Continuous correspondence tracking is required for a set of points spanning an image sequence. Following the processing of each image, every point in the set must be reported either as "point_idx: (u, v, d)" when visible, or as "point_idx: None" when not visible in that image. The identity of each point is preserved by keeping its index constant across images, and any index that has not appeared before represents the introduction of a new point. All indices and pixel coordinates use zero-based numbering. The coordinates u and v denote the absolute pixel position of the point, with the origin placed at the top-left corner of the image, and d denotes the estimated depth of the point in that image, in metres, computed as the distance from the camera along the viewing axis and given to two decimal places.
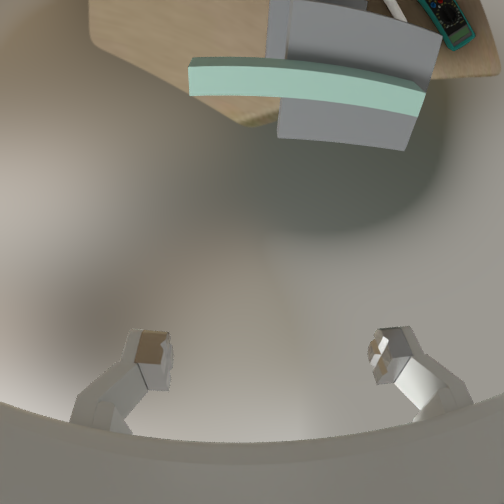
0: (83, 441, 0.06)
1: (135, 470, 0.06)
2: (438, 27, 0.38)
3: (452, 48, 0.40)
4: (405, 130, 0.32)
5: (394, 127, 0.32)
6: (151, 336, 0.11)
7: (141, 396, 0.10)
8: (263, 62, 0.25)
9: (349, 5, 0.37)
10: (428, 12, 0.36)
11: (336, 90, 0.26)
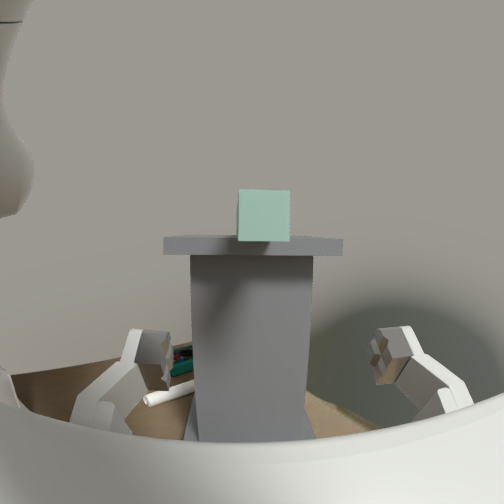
0: (83, 441, 0.06)
1: (135, 470, 0.06)
2: None
3: None
4: None
5: None
6: (151, 336, 0.11)
7: (141, 396, 0.10)
8: None
9: None
10: (191, 365, 0.57)
11: None
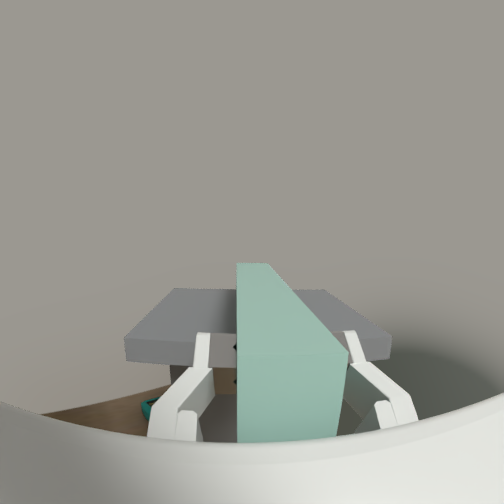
0: (83, 441, 0.06)
1: (135, 470, 0.06)
2: None
3: None
4: (299, 291, 0.32)
5: (301, 294, 0.31)
6: (221, 339, 0.11)
7: (209, 401, 0.10)
8: None
9: None
10: None
11: (261, 278, 0.21)
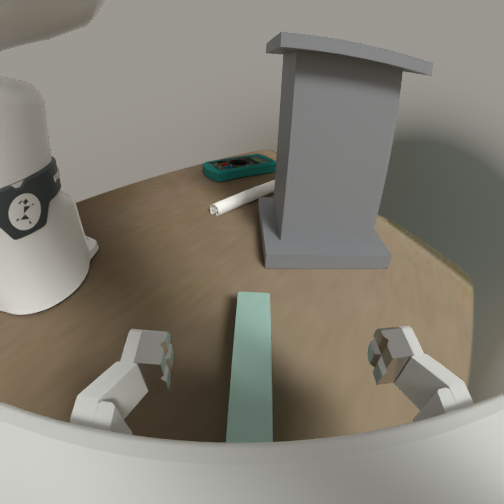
0: (83, 441, 0.06)
1: (135, 470, 0.06)
2: (253, 170, 0.63)
3: (274, 163, 0.65)
4: None
5: None
6: (151, 336, 0.11)
7: (141, 396, 0.10)
8: None
9: (270, 205, 0.47)
10: (238, 173, 0.61)
11: (254, 376, 0.22)
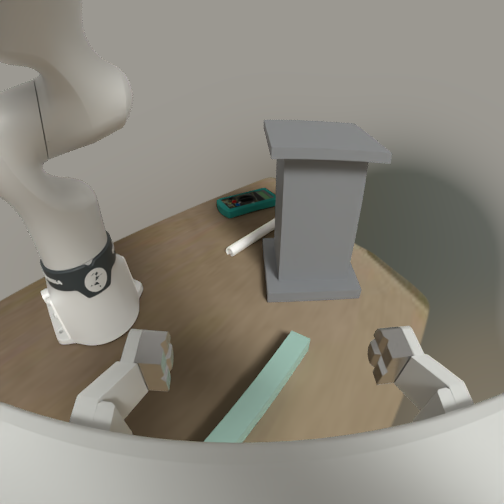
0: (83, 441, 0.06)
1: (135, 470, 0.06)
2: (258, 206, 0.77)
3: None
4: (340, 123, 0.49)
5: (342, 125, 0.48)
6: (151, 336, 0.11)
7: (141, 396, 0.10)
8: None
9: (272, 246, 0.61)
10: (245, 209, 0.75)
11: (266, 385, 0.37)
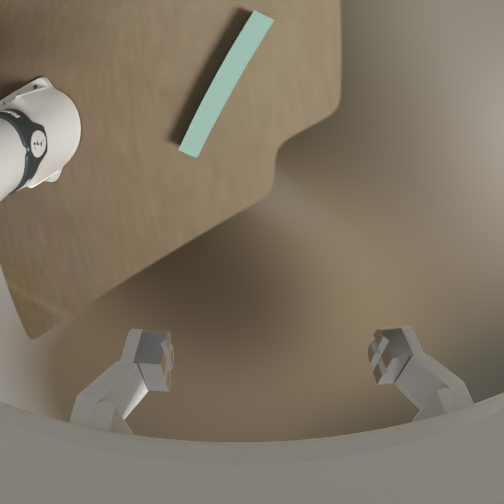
0: (83, 441, 0.06)
1: (135, 470, 0.06)
2: None
3: None
4: None
5: None
6: (151, 336, 0.11)
7: (141, 396, 0.10)
8: None
9: None
10: None
11: (231, 72, 0.37)
